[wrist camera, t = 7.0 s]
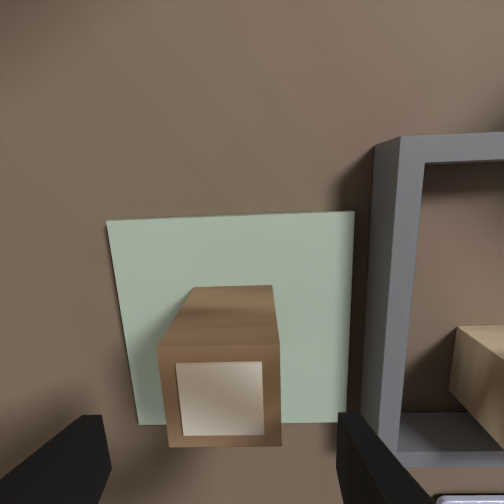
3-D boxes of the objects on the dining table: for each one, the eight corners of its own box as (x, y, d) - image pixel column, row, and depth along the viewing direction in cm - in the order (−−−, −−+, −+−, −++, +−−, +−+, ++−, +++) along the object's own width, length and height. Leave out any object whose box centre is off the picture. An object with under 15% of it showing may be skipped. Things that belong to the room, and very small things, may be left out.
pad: (342, 413, 17) (345, 422, 16) (143, 416, 17) (139, 425, 17) (350, 210, 14) (354, 211, 13) (112, 219, 14) (106, 221, 14)
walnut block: (273, 354, 15) (281, 449, 10) (200, 356, 15) (168, 450, 10) (272, 284, 14) (280, 346, 9) (194, 286, 15) (154, 348, 9)
